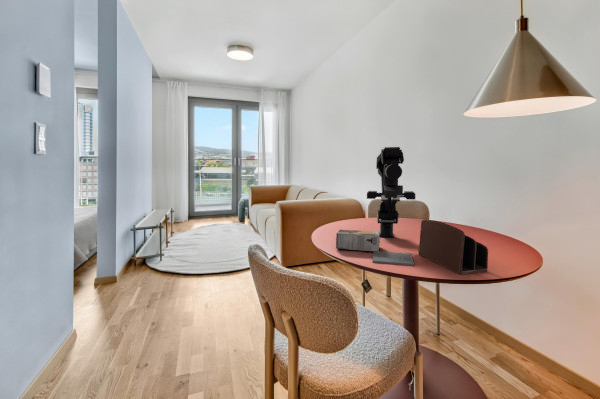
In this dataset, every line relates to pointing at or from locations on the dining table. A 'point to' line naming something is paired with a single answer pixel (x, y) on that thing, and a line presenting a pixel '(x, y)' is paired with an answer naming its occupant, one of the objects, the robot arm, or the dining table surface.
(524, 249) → the dining table surface
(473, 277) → the dining table surface
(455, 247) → the letter holder
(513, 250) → the dining table surface
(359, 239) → the coffee box
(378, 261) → the mat
